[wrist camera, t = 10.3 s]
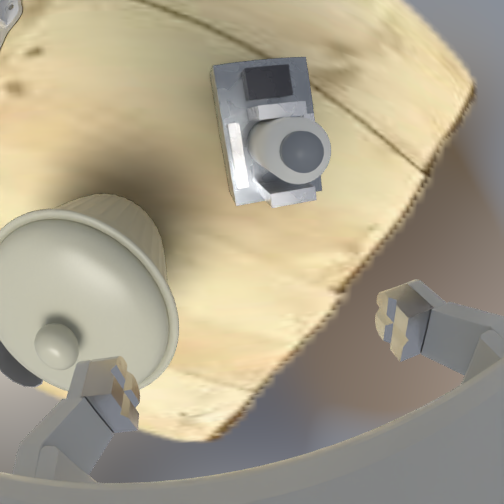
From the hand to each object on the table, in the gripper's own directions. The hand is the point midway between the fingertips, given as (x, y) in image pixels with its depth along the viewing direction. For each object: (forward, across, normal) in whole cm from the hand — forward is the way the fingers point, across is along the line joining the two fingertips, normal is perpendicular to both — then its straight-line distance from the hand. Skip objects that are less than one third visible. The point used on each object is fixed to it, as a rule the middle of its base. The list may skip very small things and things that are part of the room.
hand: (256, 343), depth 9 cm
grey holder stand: (+29, -7, -4) cm, 30 cm away
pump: (+23, -7, -2) cm, 24 cm away
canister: (+29, +13, +6) cm, 32 cm away
